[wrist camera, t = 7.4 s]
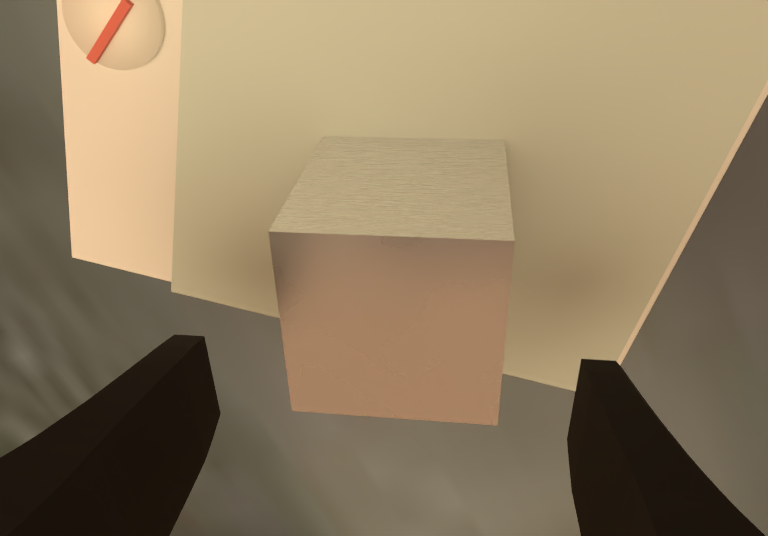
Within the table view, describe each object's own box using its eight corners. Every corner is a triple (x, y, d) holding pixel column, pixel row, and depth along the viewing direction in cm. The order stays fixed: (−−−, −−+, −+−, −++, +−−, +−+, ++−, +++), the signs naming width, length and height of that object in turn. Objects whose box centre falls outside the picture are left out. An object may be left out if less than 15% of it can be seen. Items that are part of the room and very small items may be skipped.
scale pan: (866, -154, 13) (894, -155, 12) (592, 374, 20) (597, 397, 19) (215, -320, 12) (196, -333, 12) (184, 273, 20) (171, 291, 19)
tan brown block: (504, 140, 15) (514, 240, 11) (492, 293, 18) (496, 425, 13) (323, 136, 16) (268, 231, 12) (335, 285, 18) (291, 410, 14)
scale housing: (851, -188, 15) (942, -202, 12) (593, 333, 24) (609, 399, 21) (106, -377, 15) (15, -439, 12) (115, 215, 24) (63, 265, 21)
